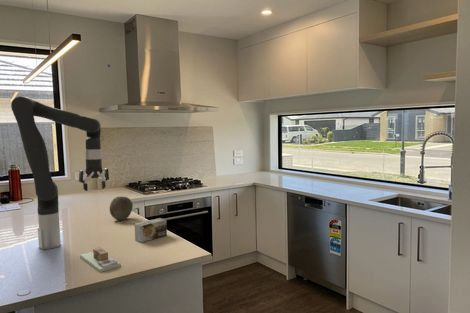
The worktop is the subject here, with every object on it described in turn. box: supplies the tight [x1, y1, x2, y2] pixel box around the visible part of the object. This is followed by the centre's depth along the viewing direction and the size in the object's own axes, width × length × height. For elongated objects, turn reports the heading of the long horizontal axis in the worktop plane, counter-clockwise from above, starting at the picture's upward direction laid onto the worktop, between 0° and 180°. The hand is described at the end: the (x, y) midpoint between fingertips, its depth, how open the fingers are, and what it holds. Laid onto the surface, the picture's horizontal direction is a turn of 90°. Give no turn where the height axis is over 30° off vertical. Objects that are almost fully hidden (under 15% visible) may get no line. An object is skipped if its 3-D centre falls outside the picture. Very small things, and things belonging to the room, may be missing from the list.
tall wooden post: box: [92, 247, 119, 268], centre depth 152 cm, size 15×6×4 cm, turn 43°
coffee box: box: [134, 217, 168, 244], centre depth 187 cm, size 9×6×16 cm
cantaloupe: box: [109, 196, 133, 221], centre depth 224 cm, size 14×14×15 cm
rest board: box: [79, 251, 122, 273], centre depth 155 cm, size 9×23×1 cm, turn 43°
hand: (94, 189), depth 178 cm, fingers open, 8 cm apart
